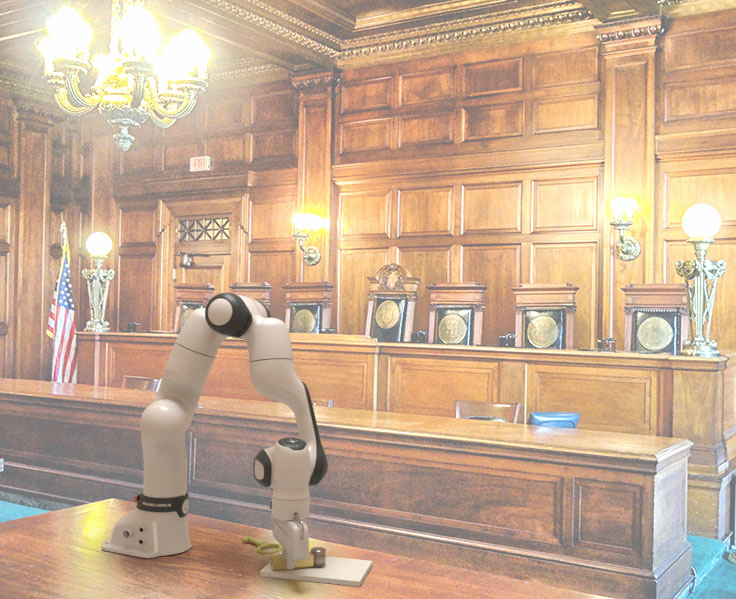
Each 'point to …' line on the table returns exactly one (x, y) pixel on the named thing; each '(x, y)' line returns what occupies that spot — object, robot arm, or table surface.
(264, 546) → the key
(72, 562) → the table surface
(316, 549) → the swing arm
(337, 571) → the lock plate
